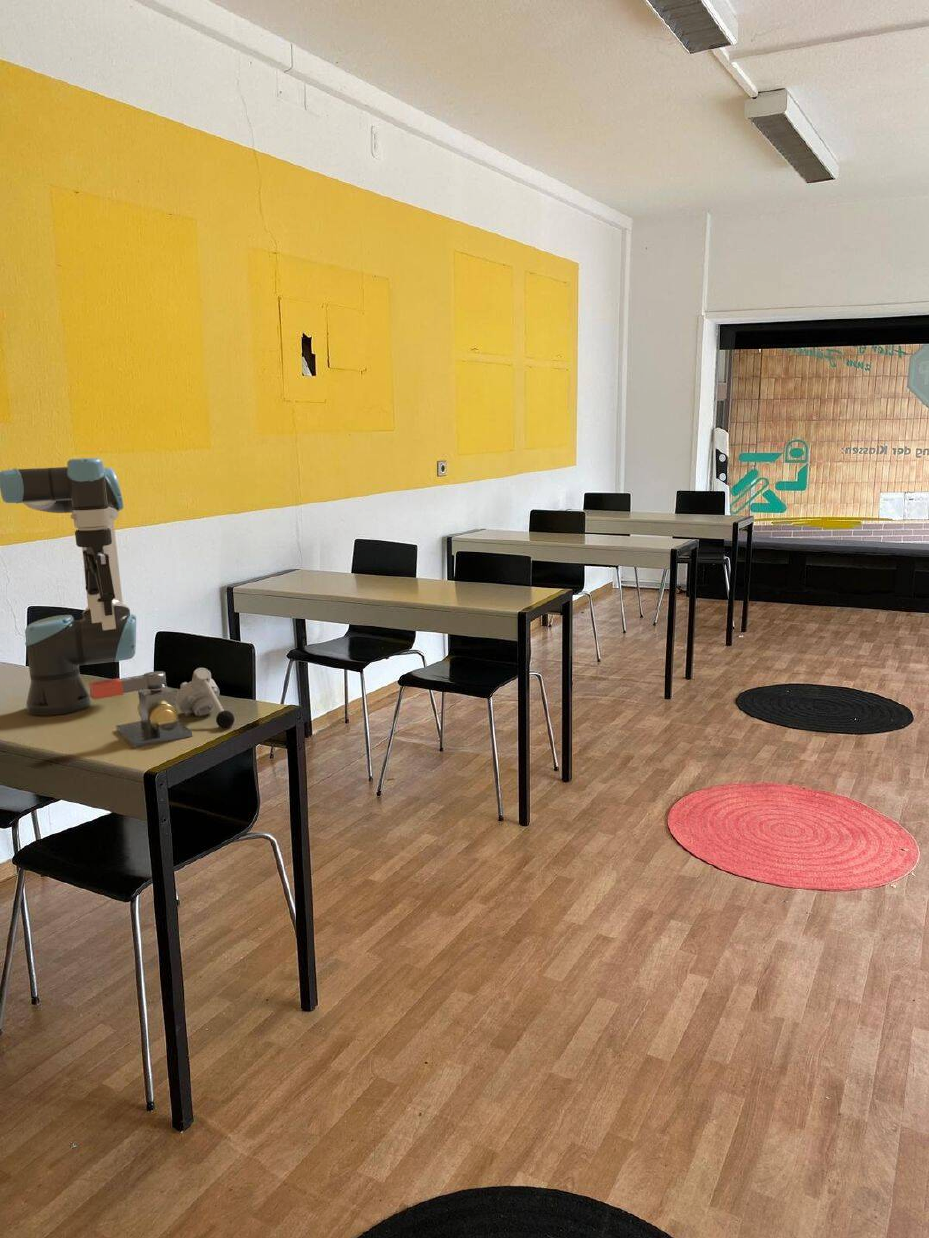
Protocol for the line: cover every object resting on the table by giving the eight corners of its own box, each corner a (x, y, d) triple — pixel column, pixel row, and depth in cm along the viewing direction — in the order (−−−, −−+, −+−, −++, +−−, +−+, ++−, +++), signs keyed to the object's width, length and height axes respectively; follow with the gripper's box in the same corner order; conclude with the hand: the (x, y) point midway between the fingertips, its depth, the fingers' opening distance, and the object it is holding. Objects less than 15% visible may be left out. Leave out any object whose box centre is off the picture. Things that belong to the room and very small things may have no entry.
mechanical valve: (209, 694, 239) (218, 658, 228) (240, 749, 231) (250, 714, 221) (171, 705, 233) (178, 669, 222) (200, 762, 225) (209, 727, 215)
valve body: (116, 730, 221) (111, 685, 218) (171, 719, 228) (167, 675, 225) (134, 748, 207) (128, 700, 205) (192, 736, 214) (187, 689, 212)
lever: (89, 695, 211) (88, 682, 210) (163, 682, 219) (161, 669, 219) (94, 700, 207) (92, 686, 206) (169, 687, 215) (167, 673, 215)
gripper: (64, 526, 217) (75, 620, 221) (86, 533, 198) (98, 636, 203) (98, 523, 221) (108, 616, 225) (122, 530, 202) (133, 631, 207)
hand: (103, 625), depth 214 cm, fingers open, 10 cm apart
